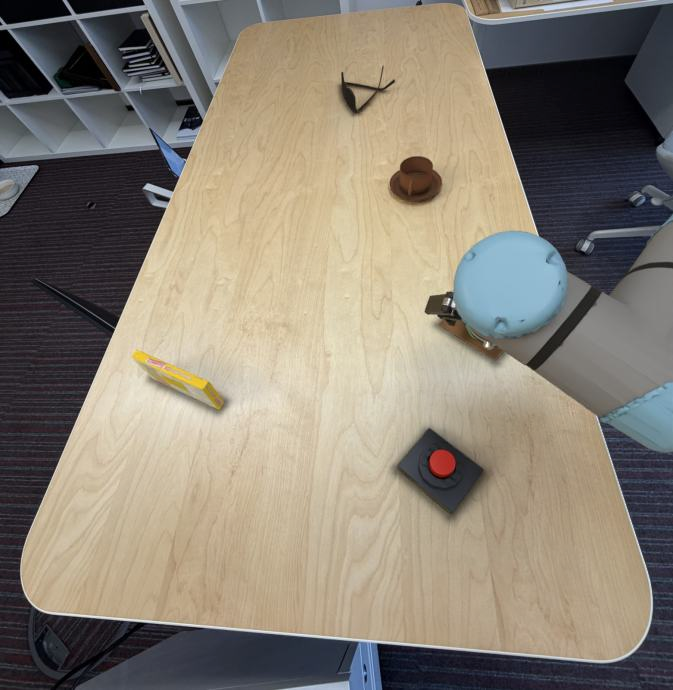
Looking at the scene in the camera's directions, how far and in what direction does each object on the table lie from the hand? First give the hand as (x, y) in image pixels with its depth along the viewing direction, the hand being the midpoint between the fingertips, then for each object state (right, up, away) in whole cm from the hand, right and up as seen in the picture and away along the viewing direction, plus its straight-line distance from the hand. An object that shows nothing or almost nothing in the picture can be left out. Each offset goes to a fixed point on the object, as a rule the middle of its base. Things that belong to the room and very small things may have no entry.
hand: (499, 331), depth 62 cm
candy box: (-52, -10, +15) cm, 55 cm away
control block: (-9, -22, +2) cm, 23 cm away
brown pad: (+3, +2, +15) cm, 15 cm away
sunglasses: (-15, +71, +59) cm, 94 cm away
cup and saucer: (-6, +35, +36) cm, 50 cm away
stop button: (-9, -20, -1) cm, 22 cm away
